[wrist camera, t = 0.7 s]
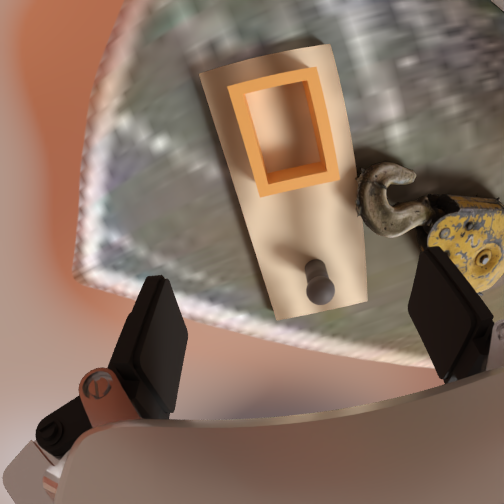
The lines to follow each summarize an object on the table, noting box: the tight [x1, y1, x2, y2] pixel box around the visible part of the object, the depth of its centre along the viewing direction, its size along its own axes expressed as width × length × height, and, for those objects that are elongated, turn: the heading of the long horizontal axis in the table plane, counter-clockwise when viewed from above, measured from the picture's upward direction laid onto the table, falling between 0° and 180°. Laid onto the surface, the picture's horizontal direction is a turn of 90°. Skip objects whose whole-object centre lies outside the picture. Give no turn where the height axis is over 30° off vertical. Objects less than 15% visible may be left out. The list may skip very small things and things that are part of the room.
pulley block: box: [355, 161, 504, 295], centre depth 30 cm, size 14×6×30 cm
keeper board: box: [199, 44, 367, 320], centre depth 28 cm, size 12×30×7 cm, turn 15°
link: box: [227, 67, 340, 198], centre depth 24 cm, size 7×10×3 cm
